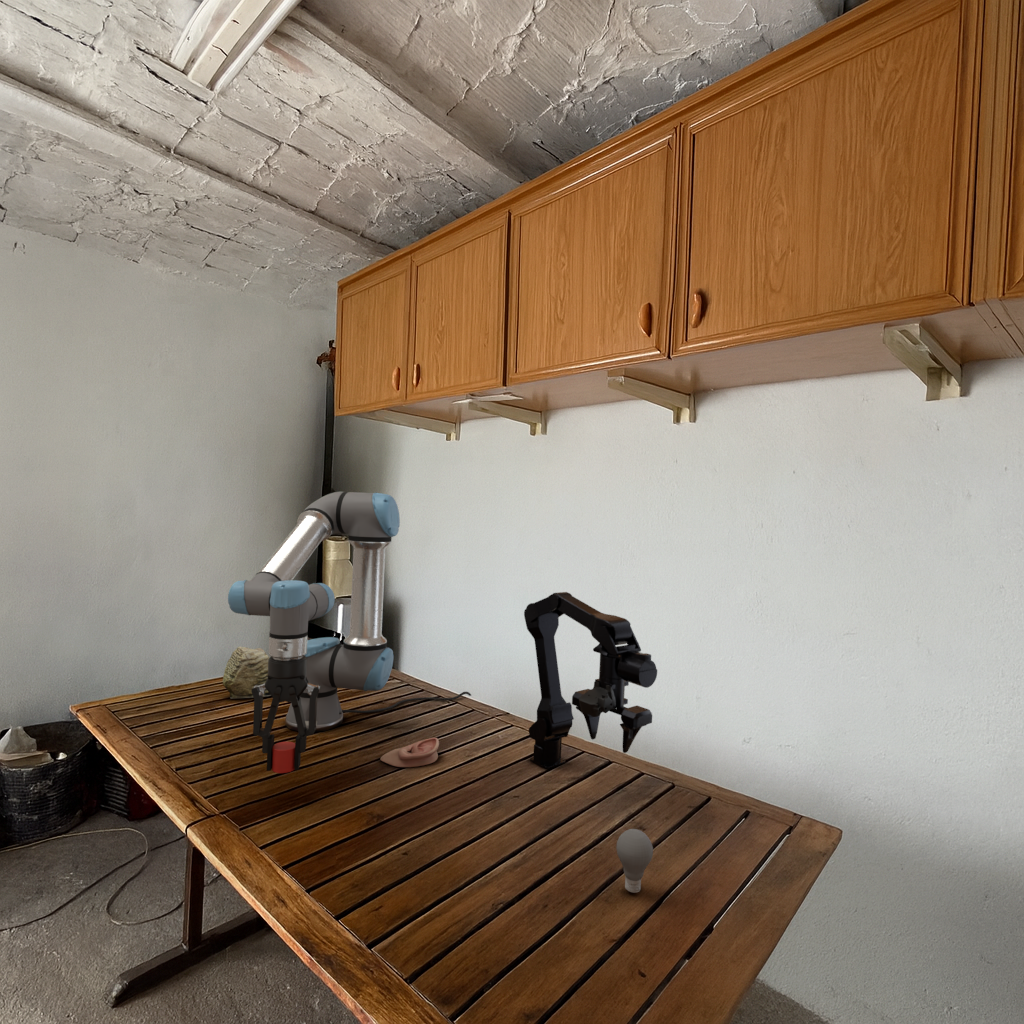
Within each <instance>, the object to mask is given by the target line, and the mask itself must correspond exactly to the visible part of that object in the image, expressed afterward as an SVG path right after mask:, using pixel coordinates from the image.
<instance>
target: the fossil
mask: <svg viewBox="0 0 1024 1024" xmlns="http://www.w3.org/2000/svg"><path fill="white" fill-rule="evenodd" d="M269 658H270V655H269V654H267V653H266V652H265V650H264V649H263V648H260V647H258V648H251V647H247V646H246V647H245V646H238V647H237V648H236V649H235V650H233V651H232V653H231V656H230V657H229V659H228V660H227V663H226V666H225V668H224V671H223V675H222V676H223V677H222V685H223V687H224V688H225V690H226V691H228V693H229V698H230V699H250V698H254V697H253V695H252V689H253V688H254V686H255V685H262V684H264V683H265V682H266V681H267V678H268V659H269ZM264 697H272V696H271V695H270V693H269V692H268V691H267V689H265V693H264V694H263V698H264Z"/></svg>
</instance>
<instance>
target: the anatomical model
mask: <svg viewBox="0 0 1024 1024" xmlns="http://www.w3.org/2000/svg"><path fill="white" fill-rule="evenodd" d="M439 747H440V741H439V739H438V737H430V738H426V739H422V740H419V741H416V742H414V743H411V744H409V745H406V746H403V747H398V748H395V749H392V750H389V751H388V752H386V753H385V754H383V755H382V756H381V757H380V759H379V760H380V761H381V762H383V763H384V764H387V765H390V766H392V767H397V768H413V767H420V766H425V765H431V764H432V763H435V762H436V761H437V760H438V758H439V754H438V752H437V751H438V749H439Z"/></svg>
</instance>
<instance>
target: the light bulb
mask: <svg viewBox="0 0 1024 1024" xmlns="http://www.w3.org/2000/svg"><path fill="white" fill-rule="evenodd" d="M615 849H616V854H617V857H618V859H619V861H620V863H621V865H622V867H623V873H624V874H623V875H624V876H625V878H624V888H625V890H627V891H628V892H630V893H634V894H635V893H639V892H640V891H641V889H642V887H641V886H642V879H643V877H644V875H645V871H646V868H647V867H648V866H649V864H650V863H651V861H652V859H653V855H654V847H653V843H652V841H651V838H649V836H648V835H647V834H646V833H645V832H643V831H642V830H641V829H636V828H629V829H627V830H625V831H623V832H622V833H621V834H620V835H619V837H618V839H617V841H616V847H615Z"/></svg>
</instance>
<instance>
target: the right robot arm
mask: <svg viewBox="0 0 1024 1024" xmlns="http://www.w3.org/2000/svg"><path fill="white" fill-rule="evenodd" d="M563 615H565V616H566V617H568V618H570V619H571V620H573V621H575V622H577V623H578V624H579V625H581V626H582V627H584V628H586V629H588V630H589V632H590V634H591V637H592V638H593V639H594V640H596V642H597V643H598V644H597V645H596V646H595V647H593V649H592V651H593V652H594V653H598V654H599V669H598V675H599V676H598V678H596V679H594V681H593V687H592V688H591V689H590V688H586V689H582V690H578V691H574V693H573V695H572V696H571V702H567V701H566V700H565V699H564V697H563V696H562V687H561V681H560V672H559V663H558V657H557V648H556V641H555V637H556V633H557V631H558V629H559V626H560V624H559V622H560V621H559V618H560V617H561V616H563ZM523 616H524V622H525V625H526V629H527V631H528V632H529V634H530V635H531V636H532V638H533V639H534V647H535V655H536V663H537V671H538V680H539V681H538V682H539V688H540V701H539V704H538V706H537V709H536V721H535V722H534V723H533V724H531V726H529V727H528V735H529V738H530V739H532V740H534V744H533V756H532V757H530V758H529V761H530V762H532V763H534V764H536V765H538V766H539V767H542V768H544V769H547V770H549V769H552V768H554V767H555V768H556V767H558V766H561V765H563V764H566V760H565V759H562V743H563V738H568V736H569V733H570V730H571V728H572V727H573V720H574V719H575V718H574V715H573V710H572V709H573V707H572V705H573V706H575V709H576V710H578V711H579V712H580V713H581V714H582V715H583V717H584V719H585V723H586V726H587V730H588V733H589V736H590V739H591V740H595V739H596V738H597V734H598V729H599V725H600V717H601V714H602V713H603V714H607V713H608V712H611V713H614V714H616V715H619V716H620V720H621V722H622V723H620V724H619V726H620V728H621V729H622V753H624V754H626V753H628V751H629V749H630V748H631V746H632V745H633V742H634V740H635V738H636V736H637V735H638V733H639V732H640V730H641V729H642V728H643V727H645V726H647V725H649V724H652V723H653V713H652V711H651V710H650V709H649V708H646V707H642V706H640V705H633V706H630V707H627V706H625V705H628V703H629V700H628V698H626V697H625V693H626V691H625V690H626V687H627V686H630V685H629V683H631V684H633V685H636V686H639V687H642V688H645V689H646V688H650V687H652V686H653V684H654V683H655V682H656V680H657V676H658V669H657V666H656V665H657V664H656V663H655V662H654V661H653V660H652V654H650V653H647V652H645V653H644V652H641V651H642V648H641V646H640V643H639V641H638V639H637V637H636V635H635V633H634V631H633V629H632V626H631V622H630V621H629V620H628V619H627V618H624V617H621V616H618V615H614V614H609V613H608V614H607V613H604V612H601V611H600V610H598V609H595V608H594V607H592V606H591V605H588V604H587V603H586V602H584V601H582V600H580V599H578V598H576V597H575V596H573V594H571V593H570V592H567V591H560V592H553V593H552V594H550V595H548V596H547V597H545V598H542V599H540V600H538V601H536V602H531V603H528V604H527V605H526V608H525V609H524V612H523Z"/></svg>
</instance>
